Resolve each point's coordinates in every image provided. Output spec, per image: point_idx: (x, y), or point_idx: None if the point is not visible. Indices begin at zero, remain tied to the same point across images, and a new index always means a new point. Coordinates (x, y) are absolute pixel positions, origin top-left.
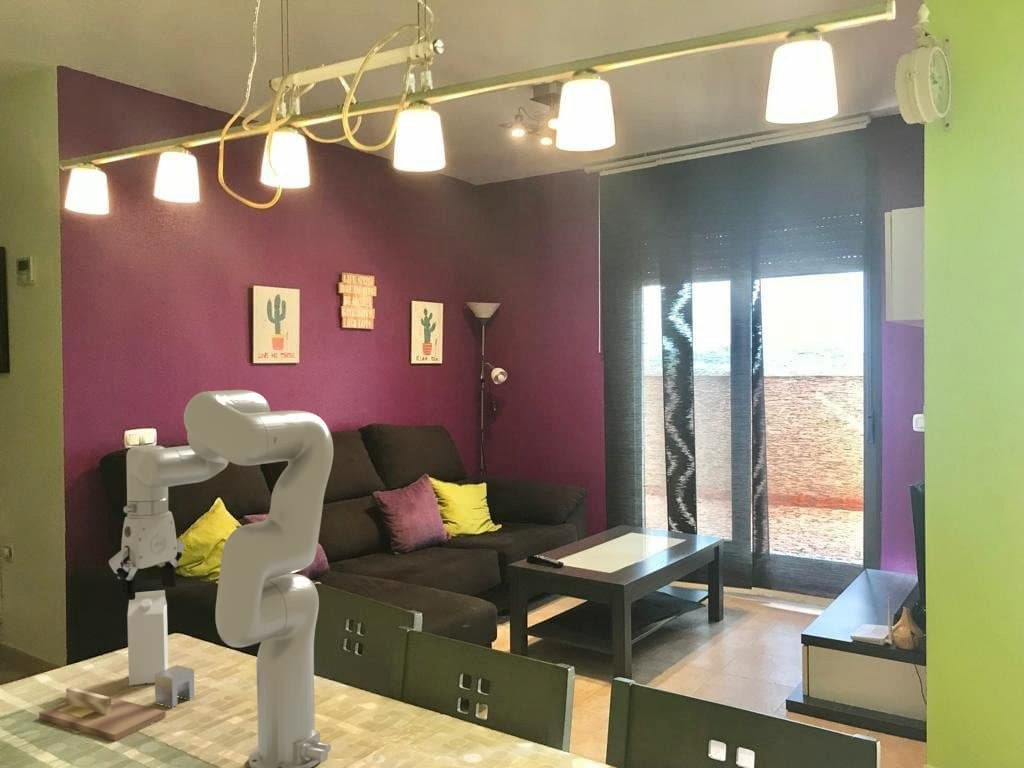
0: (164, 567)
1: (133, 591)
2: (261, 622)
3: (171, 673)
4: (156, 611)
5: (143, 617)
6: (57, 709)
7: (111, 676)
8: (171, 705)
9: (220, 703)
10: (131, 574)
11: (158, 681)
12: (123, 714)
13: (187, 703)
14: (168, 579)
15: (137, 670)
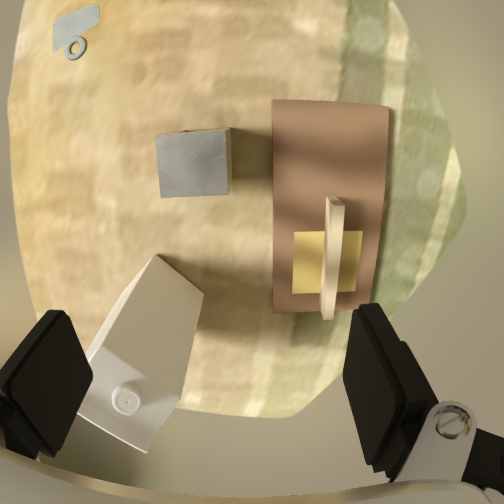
0: (45, 443)
1: (390, 332)
2: None
3: (203, 160)
4: (113, 362)
5: (148, 370)
6: (350, 295)
7: (195, 349)
8: (230, 130)
9: (167, 62)
10: (448, 442)
11: (228, 178)
12: (321, 167)
13: (199, 120)
14: (59, 363)
15: (188, 299)
